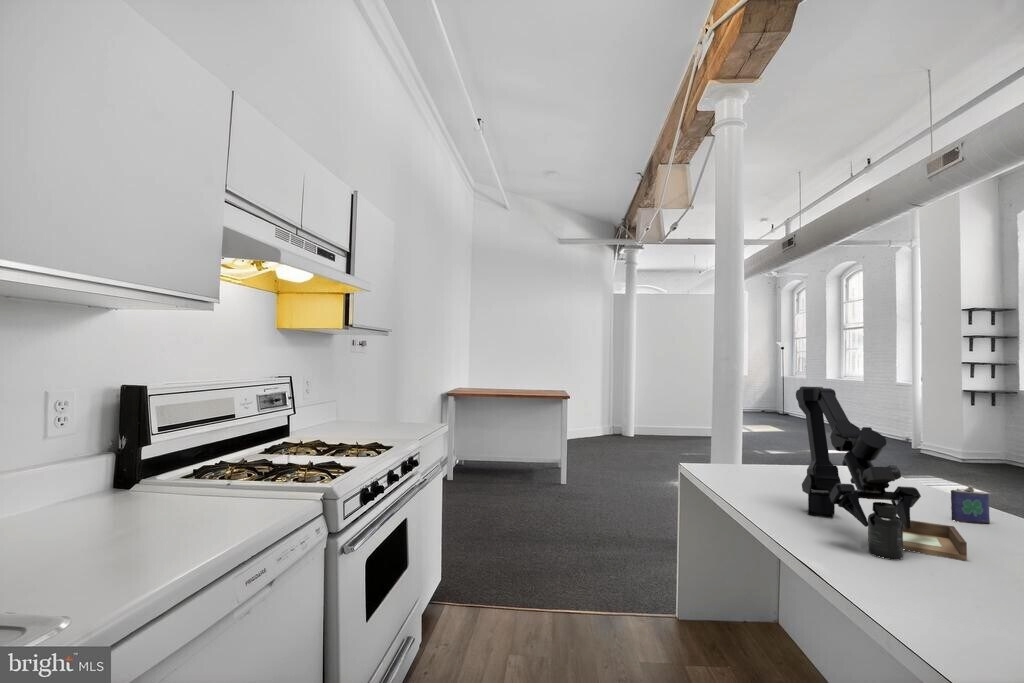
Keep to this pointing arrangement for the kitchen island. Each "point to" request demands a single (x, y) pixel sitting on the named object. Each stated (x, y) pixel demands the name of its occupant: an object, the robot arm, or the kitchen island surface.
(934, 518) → the kitchen island surface
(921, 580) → the kitchen island surface
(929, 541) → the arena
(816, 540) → the kitchen island surface
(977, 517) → the flask
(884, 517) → the supplement bottle
